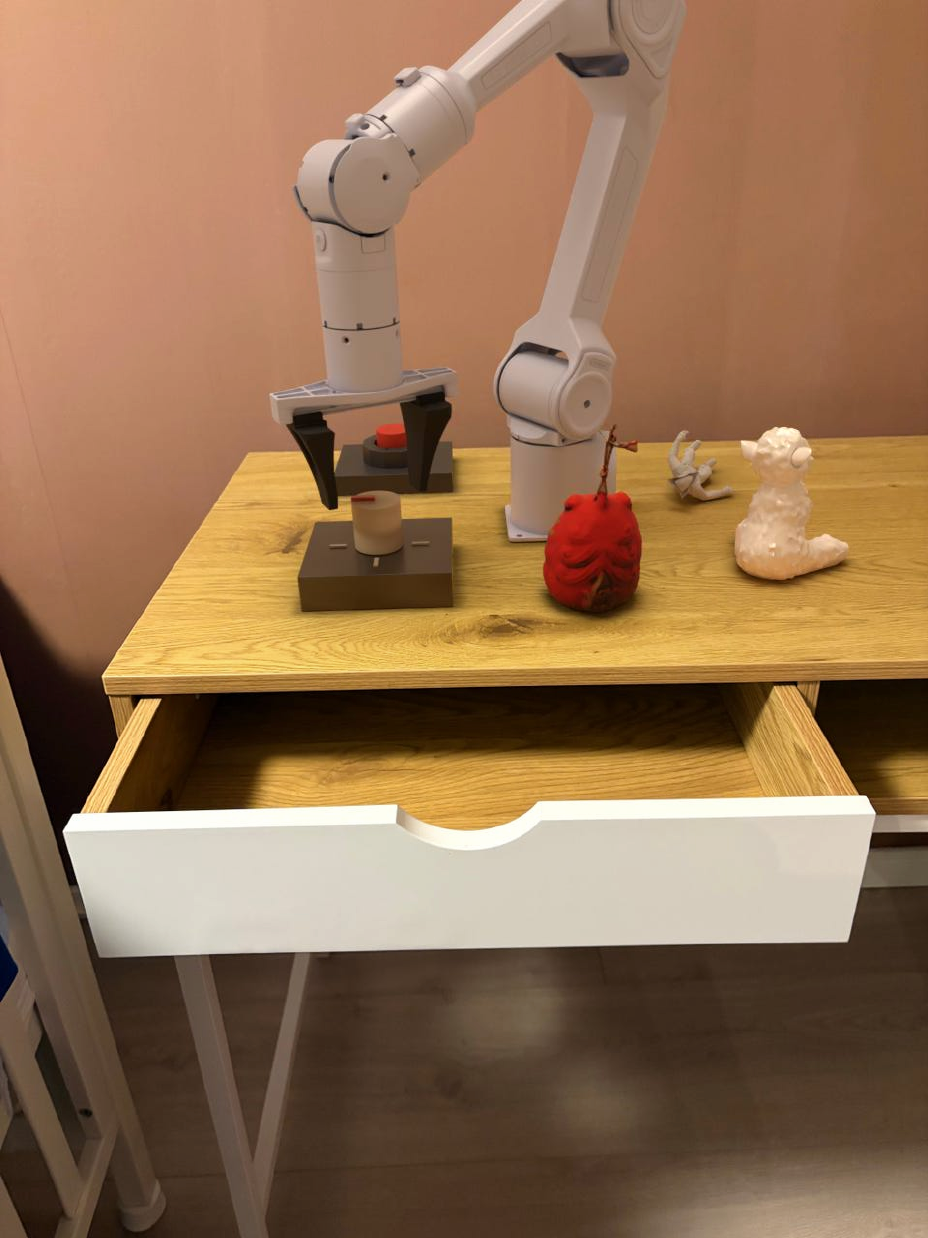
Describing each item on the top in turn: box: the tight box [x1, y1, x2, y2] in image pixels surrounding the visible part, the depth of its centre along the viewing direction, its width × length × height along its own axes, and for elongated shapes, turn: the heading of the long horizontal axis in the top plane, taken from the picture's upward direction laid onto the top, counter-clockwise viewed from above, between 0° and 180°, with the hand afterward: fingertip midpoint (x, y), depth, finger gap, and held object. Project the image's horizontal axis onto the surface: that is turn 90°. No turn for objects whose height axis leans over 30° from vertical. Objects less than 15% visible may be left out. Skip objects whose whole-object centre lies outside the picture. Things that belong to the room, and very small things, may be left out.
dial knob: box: [350, 491, 403, 555], centre depth 76 cm, size 4×4×4 cm
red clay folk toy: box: [542, 423, 643, 613], centre depth 71 cm, size 8×7×15 cm
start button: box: [375, 423, 407, 448], centre depth 98 cm, size 4×4×2 cm
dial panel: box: [296, 517, 454, 612], centre depth 78 cm, size 12×11×3 cm
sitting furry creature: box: [733, 426, 850, 581], centre depth 76 cm, size 10×9×12 cm
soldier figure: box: [666, 430, 735, 502], centre depth 93 cm, size 8×5×12 cm
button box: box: [334, 434, 454, 497], centre depth 99 cm, size 12×10×4 cm
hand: (375, 496), depth 75 cm, fingers open, 7 cm apart
